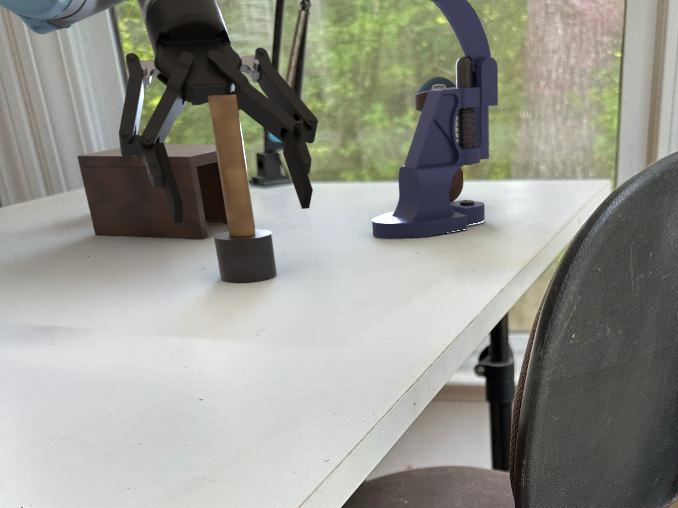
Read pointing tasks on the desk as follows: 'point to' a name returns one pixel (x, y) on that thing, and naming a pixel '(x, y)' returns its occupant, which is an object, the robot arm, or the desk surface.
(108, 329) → the desk surface
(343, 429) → the desk surface
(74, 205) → the desk surface
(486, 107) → the hand press
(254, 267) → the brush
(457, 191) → the headphones
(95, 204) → the shelf
